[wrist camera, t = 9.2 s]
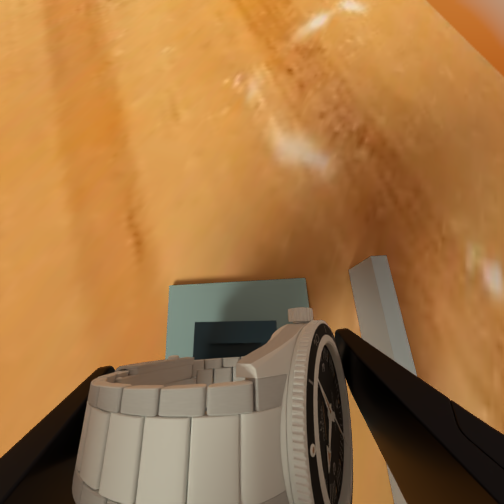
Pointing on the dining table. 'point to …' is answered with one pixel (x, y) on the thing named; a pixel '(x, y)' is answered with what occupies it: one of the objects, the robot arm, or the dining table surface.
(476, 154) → the dining table surface
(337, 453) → the watch
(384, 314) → the acrylic wall
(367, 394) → the robot arm
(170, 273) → the dining table surface
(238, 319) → the mat
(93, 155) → the dining table surface
